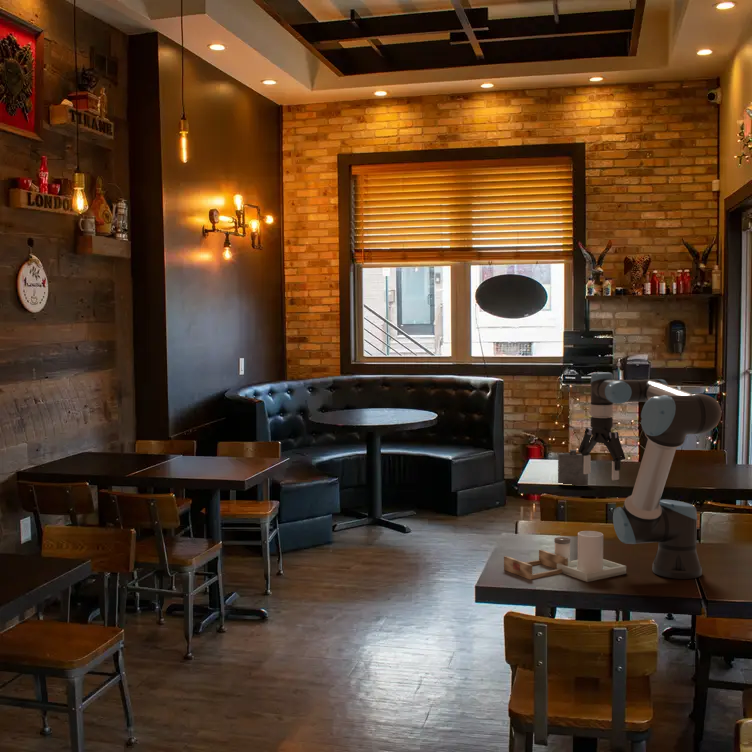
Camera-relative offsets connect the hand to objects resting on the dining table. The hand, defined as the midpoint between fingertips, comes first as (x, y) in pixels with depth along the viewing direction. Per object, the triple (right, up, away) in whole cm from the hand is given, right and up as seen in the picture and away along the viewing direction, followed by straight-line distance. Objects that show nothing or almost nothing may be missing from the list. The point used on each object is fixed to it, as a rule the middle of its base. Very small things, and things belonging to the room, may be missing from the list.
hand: (600, 476), depth 315 cm
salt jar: (-17, -28, -15) cm, 36 cm away
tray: (-9, -29, -23) cm, 38 cm away
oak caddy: (-27, -29, -21) cm, 44 cm away
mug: (-9, -28, -23) cm, 37 cm away
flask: (+17, -19, +125) cm, 127 cm away
